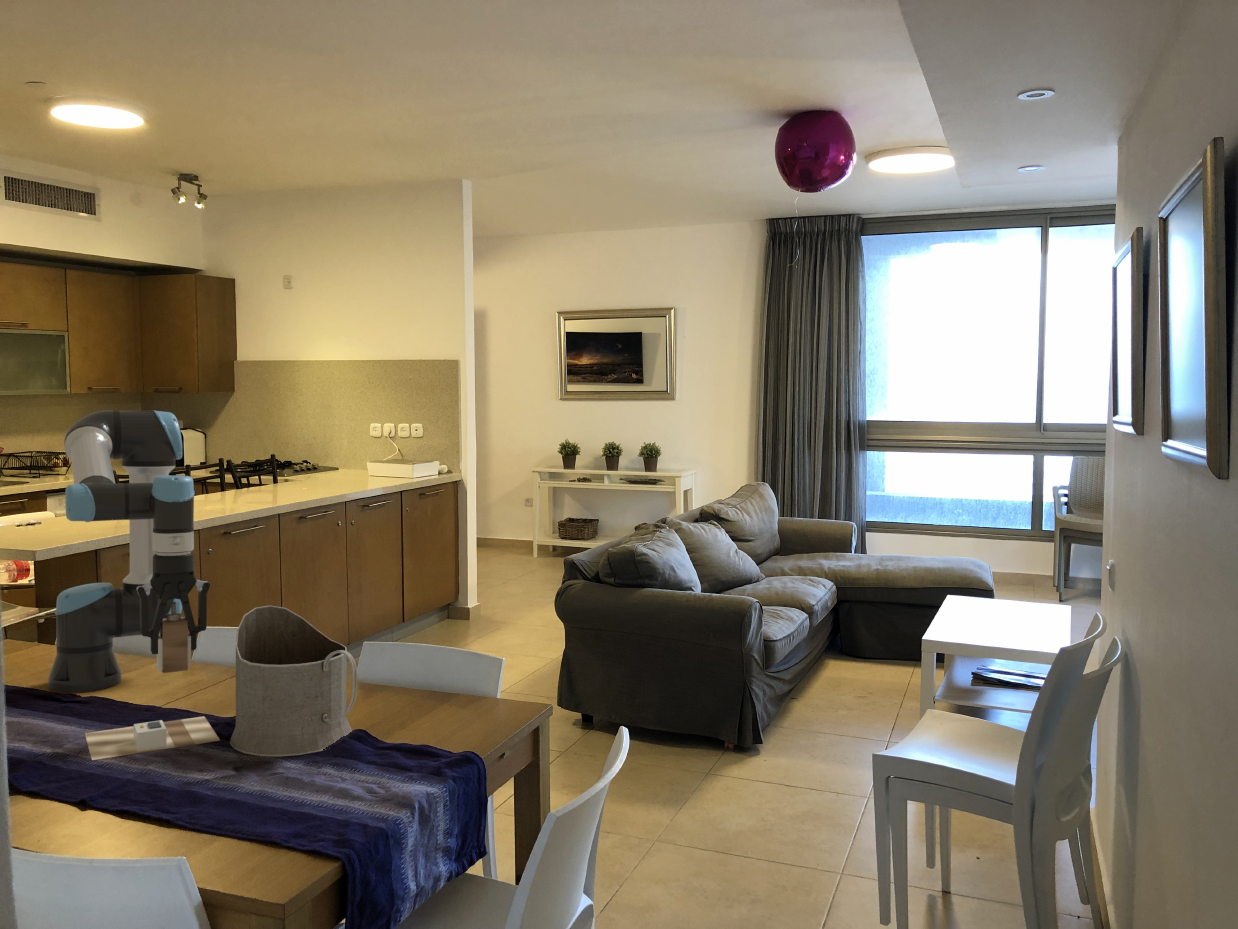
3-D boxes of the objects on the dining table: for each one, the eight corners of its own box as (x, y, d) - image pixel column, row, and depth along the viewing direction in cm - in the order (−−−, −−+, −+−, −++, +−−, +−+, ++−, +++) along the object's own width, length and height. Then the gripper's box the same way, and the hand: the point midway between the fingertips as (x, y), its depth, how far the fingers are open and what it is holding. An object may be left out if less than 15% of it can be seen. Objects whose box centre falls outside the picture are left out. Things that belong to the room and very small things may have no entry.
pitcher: (306, 711, 211) (307, 598, 210) (402, 743, 192) (403, 619, 191) (206, 738, 192) (206, 614, 191) (302, 776, 174) (302, 639, 172)
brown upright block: (160, 668, 195) (159, 601, 194) (184, 665, 197) (183, 599, 197) (163, 673, 191) (162, 605, 190) (187, 670, 194) (187, 603, 193)
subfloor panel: (84, 739, 190) (84, 733, 190) (204, 722, 202) (204, 716, 202) (91, 766, 176) (91, 760, 176) (220, 746, 188) (220, 740, 188)
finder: (133, 742, 186) (133, 721, 186) (162, 737, 188) (162, 717, 188) (137, 751, 181) (137, 730, 181) (166, 747, 183) (166, 726, 183)
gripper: (126, 558, 185) (127, 678, 186) (223, 552, 195) (223, 666, 196) (122, 553, 191) (123, 669, 192) (216, 548, 201) (216, 658, 202)
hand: (173, 667), depth 194 cm, fingers closed on brown upright block, 4 cm apart
